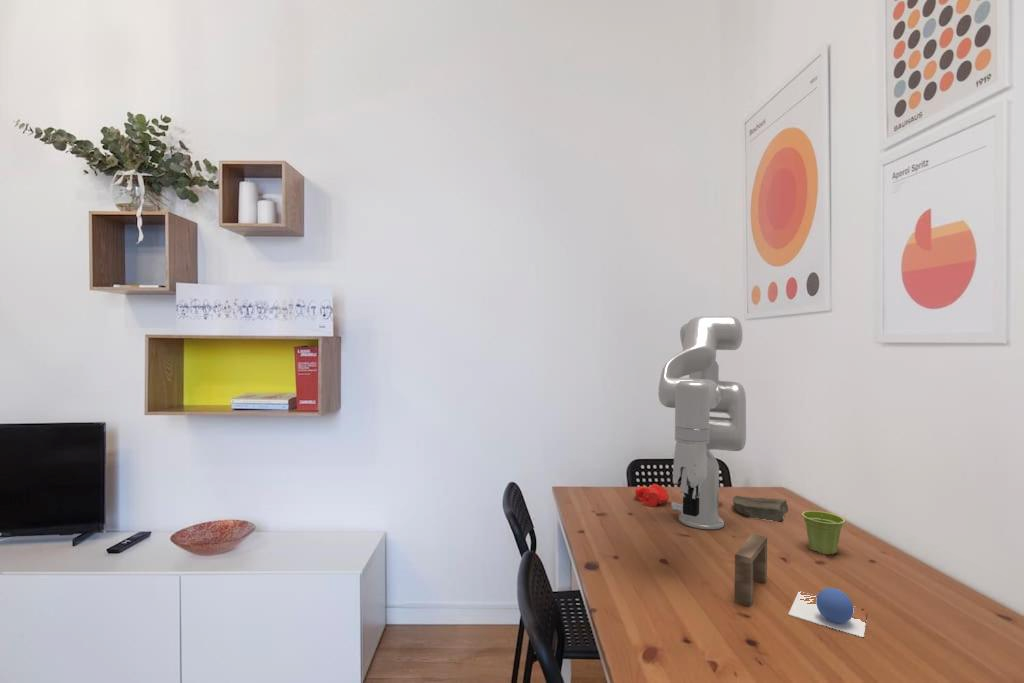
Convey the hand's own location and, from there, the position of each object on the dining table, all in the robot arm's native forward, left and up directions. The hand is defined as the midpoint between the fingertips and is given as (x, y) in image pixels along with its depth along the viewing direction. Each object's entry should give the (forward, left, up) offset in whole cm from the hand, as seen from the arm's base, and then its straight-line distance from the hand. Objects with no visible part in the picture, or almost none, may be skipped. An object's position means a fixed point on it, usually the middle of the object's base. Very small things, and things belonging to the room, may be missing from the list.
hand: (690, 514), depth 115 cm
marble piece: (+3, +58, -14) cm, 60 cm away
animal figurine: (-29, +48, -14) cm, 58 cm away
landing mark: (+27, 0, -13) cm, 30 cm away
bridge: (+13, 0, -13) cm, 19 cm away
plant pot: (+22, +36, -14) cm, 44 cm away
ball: (+28, -3, -10) cm, 30 cm away
